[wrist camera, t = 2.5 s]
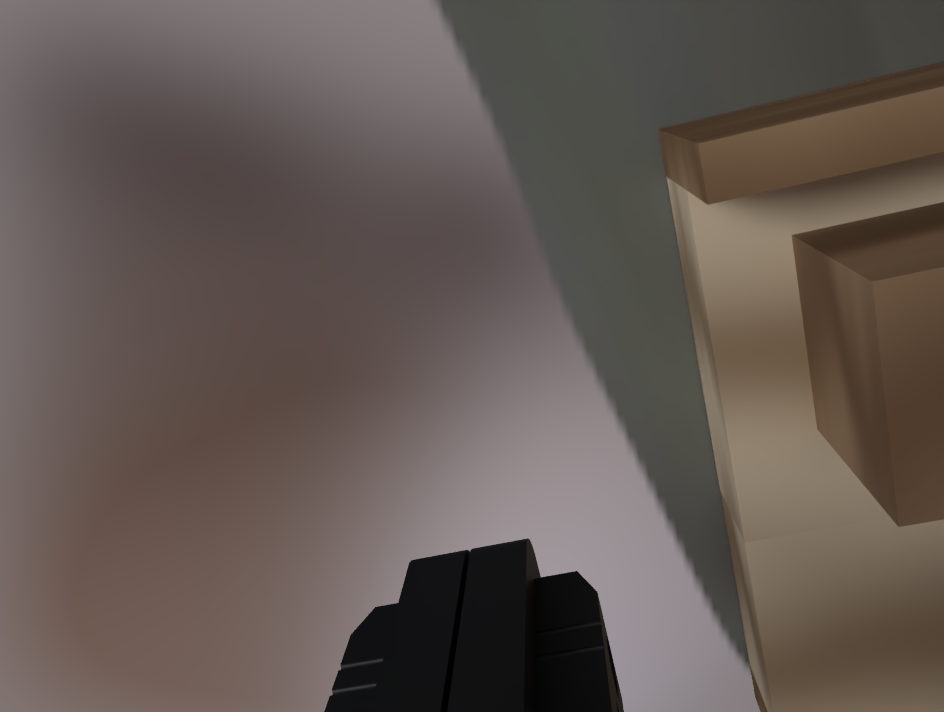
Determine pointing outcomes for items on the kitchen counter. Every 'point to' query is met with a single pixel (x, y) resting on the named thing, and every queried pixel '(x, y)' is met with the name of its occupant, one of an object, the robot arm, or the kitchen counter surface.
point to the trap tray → (807, 390)
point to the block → (880, 352)
